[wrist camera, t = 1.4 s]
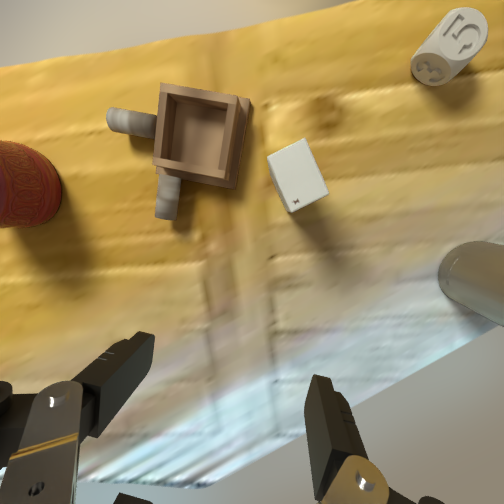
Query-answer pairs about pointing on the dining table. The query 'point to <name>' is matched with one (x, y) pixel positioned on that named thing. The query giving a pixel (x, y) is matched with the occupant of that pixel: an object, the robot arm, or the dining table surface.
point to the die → (450, 46)
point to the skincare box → (296, 176)
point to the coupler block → (189, 139)
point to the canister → (26, 187)
